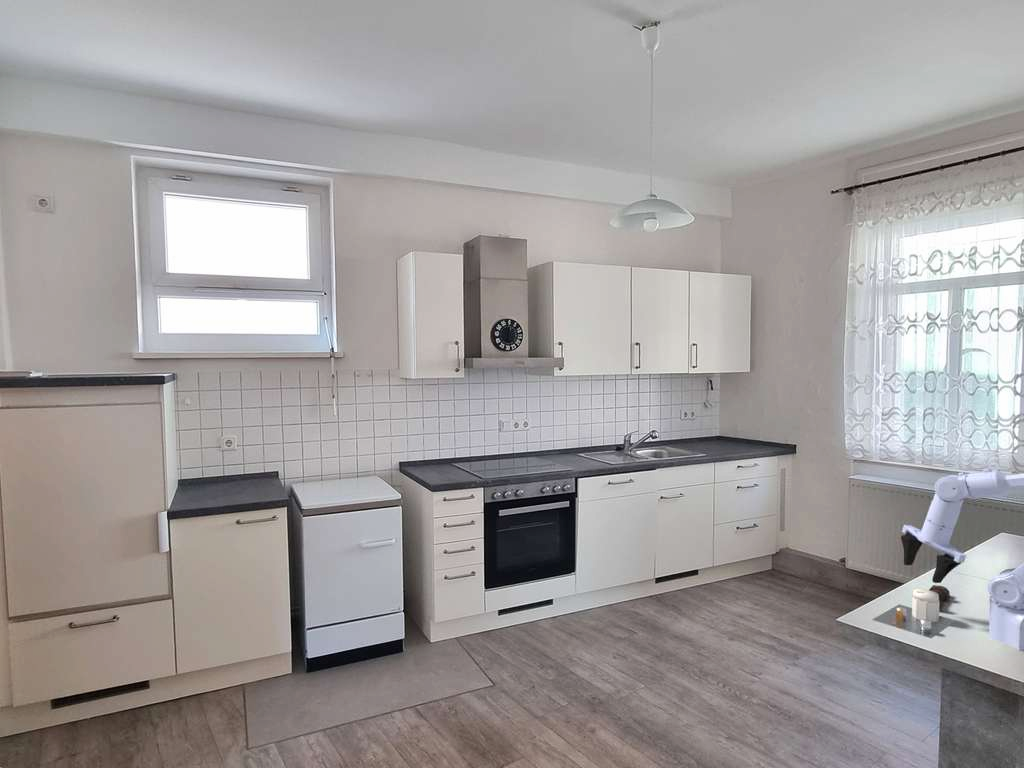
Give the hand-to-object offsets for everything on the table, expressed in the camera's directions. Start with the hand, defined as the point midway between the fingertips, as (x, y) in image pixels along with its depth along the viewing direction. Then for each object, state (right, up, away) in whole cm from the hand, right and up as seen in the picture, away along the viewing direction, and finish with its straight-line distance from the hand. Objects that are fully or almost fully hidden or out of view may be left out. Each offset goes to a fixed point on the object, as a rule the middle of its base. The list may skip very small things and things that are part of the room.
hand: (921, 573), depth 143 cm
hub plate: (-5, -11, -4) cm, 12 cm away
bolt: (+9, -11, +8) cm, 17 cm away
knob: (-1, -10, -2) cm, 10 cm away
